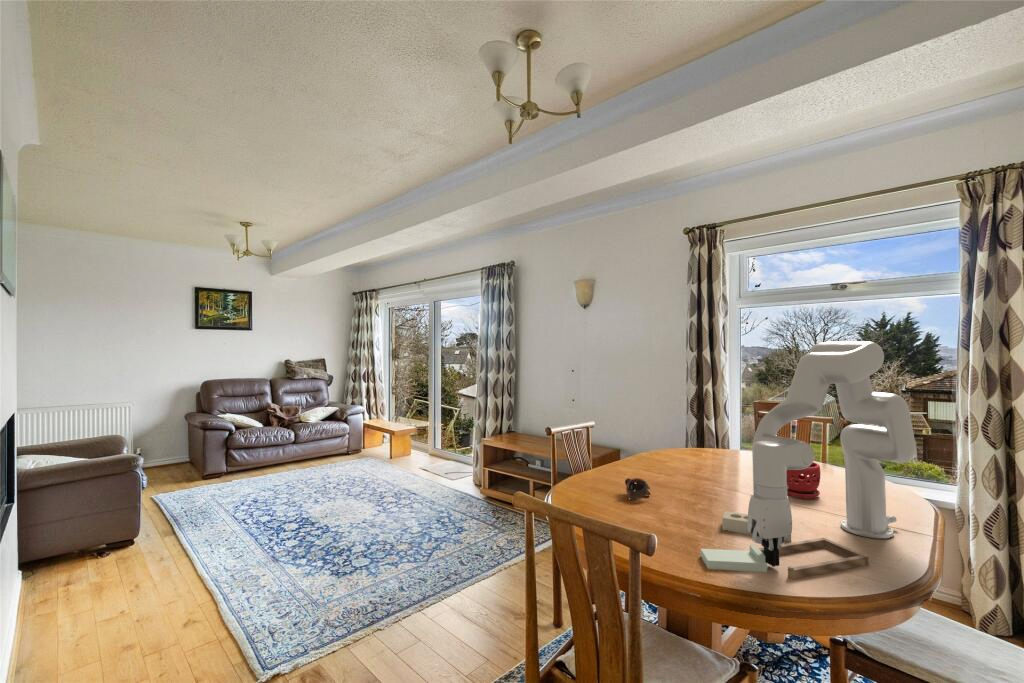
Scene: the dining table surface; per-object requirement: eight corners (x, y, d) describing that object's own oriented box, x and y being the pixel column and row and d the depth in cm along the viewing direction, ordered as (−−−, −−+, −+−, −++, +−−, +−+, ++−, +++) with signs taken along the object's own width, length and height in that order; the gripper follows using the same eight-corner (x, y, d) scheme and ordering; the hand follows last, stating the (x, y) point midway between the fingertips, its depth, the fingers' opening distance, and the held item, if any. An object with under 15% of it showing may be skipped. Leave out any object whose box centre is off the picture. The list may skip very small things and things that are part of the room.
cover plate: (756, 560, 121) (756, 545, 121) (767, 573, 114) (766, 557, 114) (700, 558, 123) (700, 542, 123) (708, 570, 116) (707, 554, 116)
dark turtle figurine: (658, 499, 170) (654, 483, 167) (639, 514, 167) (635, 498, 164) (634, 483, 180) (630, 468, 177) (617, 497, 177) (612, 481, 174)
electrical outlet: (790, 528, 131) (722, 517, 140) (791, 542, 131) (722, 531, 140) (790, 520, 138) (724, 510, 147) (790, 533, 138) (724, 523, 147)
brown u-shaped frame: (823, 544, 129) (823, 535, 129) (868, 564, 117) (868, 554, 117) (752, 556, 122) (752, 547, 122) (792, 579, 110) (791, 568, 110)
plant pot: (808, 489, 177) (808, 458, 178) (828, 501, 164) (828, 467, 164) (773, 489, 179) (772, 458, 179) (790, 500, 166) (789, 467, 166)
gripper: (781, 484, 122) (783, 553, 122) (734, 489, 118) (736, 561, 118) (806, 492, 115) (808, 566, 115) (757, 498, 111) (759, 575, 111)
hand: (771, 563), depth 116 cm, fingers closed
